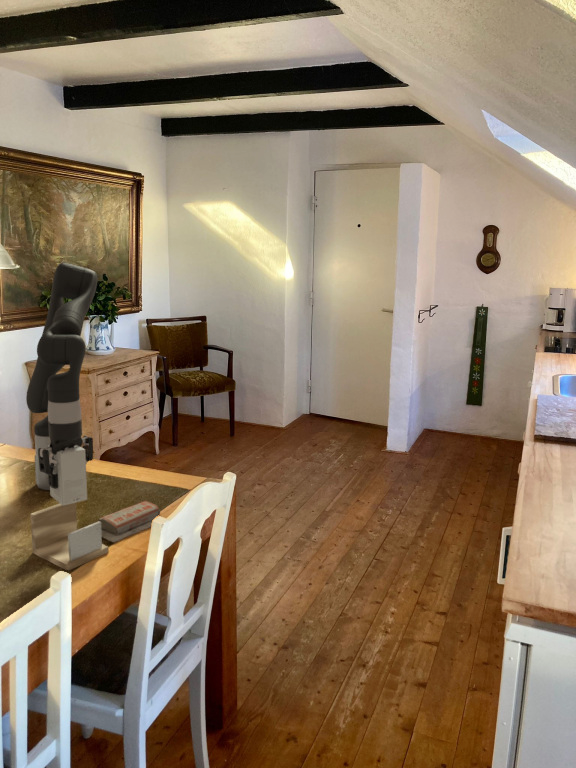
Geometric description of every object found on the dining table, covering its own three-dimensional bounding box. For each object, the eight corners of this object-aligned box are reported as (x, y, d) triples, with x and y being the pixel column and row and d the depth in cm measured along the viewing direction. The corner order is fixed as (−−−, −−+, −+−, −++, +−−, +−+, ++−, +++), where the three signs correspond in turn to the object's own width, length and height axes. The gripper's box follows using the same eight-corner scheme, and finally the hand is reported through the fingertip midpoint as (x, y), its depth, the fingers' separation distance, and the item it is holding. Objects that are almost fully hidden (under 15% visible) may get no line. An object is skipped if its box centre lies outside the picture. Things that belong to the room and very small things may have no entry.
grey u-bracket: (32, 553, 161) (30, 513, 159) (73, 536, 170) (72, 498, 168) (67, 570, 153) (65, 529, 151) (108, 552, 162) (107, 513, 160)
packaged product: (141, 496, 187) (165, 506, 181) (142, 512, 188) (165, 522, 182) (89, 516, 172) (113, 527, 167) (89, 533, 174) (113, 544, 168)
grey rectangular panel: (69, 560, 155) (67, 533, 153) (99, 547, 162) (99, 521, 160) (71, 561, 154) (69, 534, 153) (102, 548, 161) (101, 522, 160)
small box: (88, 500, 158) (86, 449, 155) (62, 506, 154) (59, 454, 151) (74, 489, 164) (72, 440, 161) (49, 495, 160) (47, 445, 157)
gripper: (80, 409, 162) (82, 471, 166) (28, 421, 151) (32, 488, 154) (99, 414, 158) (101, 478, 161) (47, 427, 146) (51, 496, 150)
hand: (67, 483), depth 158 cm, fingers closed on small box, 7 cm apart
